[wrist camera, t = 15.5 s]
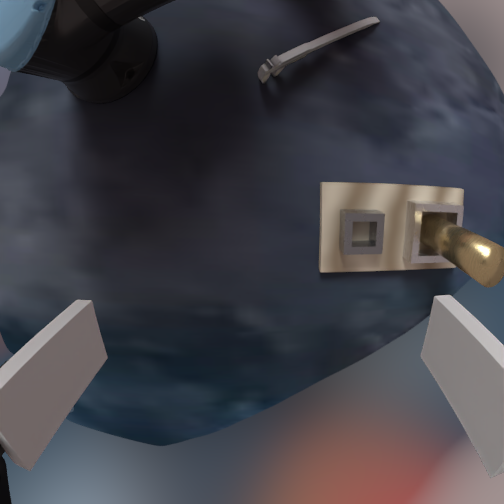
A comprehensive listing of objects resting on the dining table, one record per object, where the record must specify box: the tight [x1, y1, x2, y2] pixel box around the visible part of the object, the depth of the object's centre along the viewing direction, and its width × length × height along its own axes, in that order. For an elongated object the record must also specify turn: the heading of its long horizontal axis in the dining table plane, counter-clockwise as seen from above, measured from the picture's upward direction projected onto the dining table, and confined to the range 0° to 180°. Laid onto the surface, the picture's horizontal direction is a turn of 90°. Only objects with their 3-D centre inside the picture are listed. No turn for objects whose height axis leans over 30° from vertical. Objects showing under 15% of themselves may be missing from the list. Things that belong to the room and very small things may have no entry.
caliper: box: [258, 17, 380, 83], centre depth 31 cm, size 20×1×6 cm, turn 125°
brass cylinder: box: [420, 214, 504, 287], centre depth 31 cm, size 4×4×16 cm
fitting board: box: [319, 182, 464, 272], centre depth 39 cm, size 22×12×4 cm, turn 92°
